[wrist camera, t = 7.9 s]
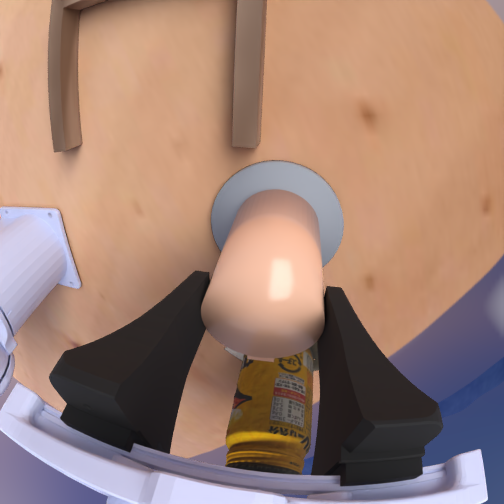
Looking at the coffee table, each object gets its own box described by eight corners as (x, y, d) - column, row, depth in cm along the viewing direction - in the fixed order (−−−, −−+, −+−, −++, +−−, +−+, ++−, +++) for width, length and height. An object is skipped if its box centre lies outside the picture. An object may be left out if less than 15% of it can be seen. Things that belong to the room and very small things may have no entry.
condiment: (224, 347, 25) (190, 472, 15) (299, 304, 21) (289, 464, 11) (278, 383, 27) (263, 495, 17) (351, 351, 24) (358, 483, 14)
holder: (70, 145, 17) (54, 152, 15) (68, 1, 11) (52, -2, 9) (260, 141, 16) (256, 148, 14) (268, -40, 9) (265, -52, 8)
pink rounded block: (307, 290, 19) (304, 384, 14) (235, 282, 20) (210, 372, 14) (325, 194, 15) (337, 283, 9) (234, 185, 16) (194, 267, 10)
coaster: (215, 269, 21) (213, 274, 20) (212, 155, 16) (209, 158, 16) (329, 282, 20) (330, 287, 19) (352, 169, 16) (354, 172, 15)
